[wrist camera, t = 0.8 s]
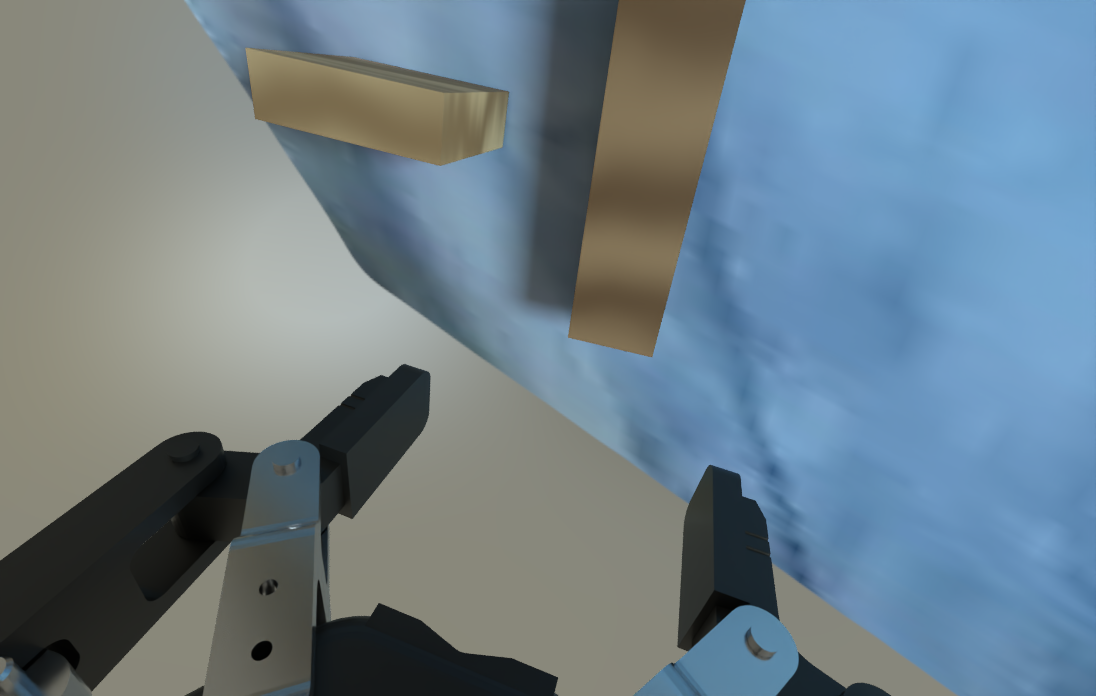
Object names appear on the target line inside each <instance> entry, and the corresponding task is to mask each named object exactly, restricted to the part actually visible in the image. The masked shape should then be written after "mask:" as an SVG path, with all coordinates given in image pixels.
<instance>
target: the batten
mask: <svg viewBox="0 0 1096 696" xmlns="http://www.w3.org/2000/svg"><path fill="white" fill-rule="evenodd" d="M745 1H746V0H619V3H618V9H617V16H616V23H615V29H614V36H613V43H612V49H611V56H610V62H609V69H608V76H607V82H606V89H605V96H604V102H603V109H602V115H601V122H600V129H599V135H598V142H597V149H596V155H595V162H594V168H593V175H592V182H591V188H590V195H589V202H588V208H587V215H586V221H585V228H584V235H583V241H582V248H581V255H580V261H579V268H578V275H577V281H576V288H575V294H574V301H573V308H572V314H571V321H570V328H569V334H568V338H572V339H577V340H581V341H585V342H589V343H594V344H598V345H602V346H606V347H611V348H615V349H619V350H623V351H627V352H632V353H636V354H640V355H644V356H649V357H652V356H653V352H654V348H655V344H656V340H657V337H658V333H659V329H660V325H661V321H662V318H663V314H664V310H665V306H666V302H667V299H668V295H669V291H670V287H671V283H672V279H673V276H674V272H675V268H676V264H677V260H678V257H679V253H680V249H681V245H682V241H683V237H684V234H685V230H686V226H687V222H688V218H689V215H690V211H691V207H692V203H693V199H694V195H695V192H696V188H697V184H698V180H699V176H700V173H701V169H702V165H703V161H704V157H705V154H706V150H707V146H708V142H709V138H710V134H711V131H712V127H713V123H714V119H715V115H716V112H717V108H718V104H719V100H720V96H721V92H722V89H723V85H724V81H725V77H726V73H727V70H728V66H729V62H730V58H731V54H732V50H733V47H734V43H735V39H736V35H737V31H738V28H739V24H740V20H741V16H742V12H743V9H744V5H745Z"/></svg>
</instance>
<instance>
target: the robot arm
mask: <svg viewBox="0 0 1096 696" xmlns="http://www.w3.org/2000/svg"><path fill="white" fill-rule="evenodd" d="M429 401H430V373H429V372H427V371H424V370H421V369H418V368H415V367H412V366H409V365H406V364H403V365H401V366H400V367H399V368H398V369H397V370H396V371H395V372H393V373H392V374H391V375H390V376H389V377H385V376H382V375H380V376H378V377H376V378H374V379H371V380H369V381H367V382H365V383H363V384H362V385H361V386H360V387H359V388H358V389H356V390H355V391H354V392H353V393H352V394H351V396H349V397H347V398H346V399H345V400H344V401H343V402H342V403H341V405H340V406H337V407H336V408H335V409H334V410H333V411H332V412H331V413H330V414H328V415H327V416H326V417H325V418H324V419H323V420H322V421H321V422H320V423H318V424H317V425H316V426H315V427H314V428H313V429H312V430H311V431H310V432H309V433H307V434H306V435H305V436H304V437H303V438H302V439H300V440H288V441H283V442H279V443H276V444H274V445H271V446H269V447H268V448H266V449H265V450H263V451H262V452H261V453H250V452H235V451H224V450H223V447H222V443H221V441H220V439H219V438H218V437H217V436H215V435H213V434H211V433H207V432H189V433H184V434H180V435H177V436H174V437H171V438H169V439H167V440H165V441H163V442H162V443H160V444H159V445H158V446H156V447H155V448H153V449H152V450H151V451H149V452H148V453H146V454H145V455H144V456H142V457H141V458H140V459H138V460H137V461H136V462H134V463H133V464H131V465H130V466H129V467H127V468H126V469H125V470H123V471H122V472H120V473H119V474H118V475H116V476H115V477H114V478H112V479H111V480H110V481H108V482H107V483H105V484H104V485H103V486H101V487H100V488H99V489H97V490H96V491H95V492H93V493H92V494H90V495H89V496H88V497H86V498H85V499H84V500H82V501H81V502H80V503H78V504H77V505H76V506H74V507H73V508H71V509H70V510H69V511H68V512H66V513H65V514H63V515H62V516H61V517H59V518H58V519H56V520H55V521H54V522H52V523H51V524H50V525H48V526H47V527H45V528H44V529H43V530H41V531H40V532H39V533H37V534H36V535H35V536H33V537H32V538H30V539H29V540H28V541H26V542H25V543H24V544H22V545H21V546H20V547H18V548H17V549H15V550H14V551H13V552H12V553H10V554H9V555H7V556H6V557H5V558H3V559H2V560H0V696H92V694H91V692H92V691H93V689H94V688H95V687H96V686H97V685H98V684H99V683H100V682H101V681H102V680H103V679H104V678H105V676H106V675H107V674H108V673H109V672H110V671H111V670H112V669H113V668H114V667H115V666H116V665H117V664H118V663H119V662H120V661H121V659H122V658H123V657H124V656H125V655H126V654H127V653H128V652H129V651H130V650H131V649H132V648H133V647H134V646H135V644H136V643H137V642H138V641H139V640H140V639H141V638H142V637H143V636H144V635H145V634H146V633H147V632H148V630H149V629H150V628H151V627H152V626H153V625H154V624H155V623H156V622H157V621H158V620H159V618H161V617H162V615H163V614H164V613H165V612H166V611H167V610H168V609H169V608H170V607H171V606H172V605H173V604H174V603H175V601H176V600H177V599H178V598H179V597H180V596H181V595H182V594H183V593H184V592H185V591H186V590H187V589H188V587H189V586H190V585H191V584H192V583H193V582H194V581H195V580H196V579H197V578H198V577H199V576H200V575H201V573H202V572H203V571H204V570H205V569H206V568H207V567H208V566H209V565H210V564H211V563H212V562H213V561H214V560H215V558H216V557H217V556H218V555H219V554H220V553H221V552H222V551H223V550H224V549H225V548H226V547H227V546H228V545H229V544H230V542H231V545H230V549H229V554H228V559H227V565H226V571H225V576H224V581H223V587H222V592H221V598H220V603H219V609H218V614H217V620H216V625H215V631H214V636H213V642H212V647H211V653H210V659H209V664H208V669H207V674H206V680H205V685H204V686H202V687H200V688H198V689H197V690H195V691H193V692H191V693H189V694H187V695H185V696H558V695H557V694H555V693H554V692H555V688H556V684H557V680H558V677H556V676H553V675H551V674H548V673H546V672H544V671H541V670H539V669H536V668H534V667H532V666H529V665H527V664H524V663H522V662H519V661H517V660H515V659H512V658H504V657H495V656H486V655H477V654H468V653H462V652H459V651H458V650H456V649H455V648H454V647H452V646H451V645H450V644H449V643H448V642H446V641H445V640H444V639H443V638H442V637H440V636H439V635H438V634H437V633H435V632H434V631H433V630H432V629H431V628H429V627H428V626H427V625H426V624H424V623H423V622H422V621H421V620H418V619H416V618H414V617H411V616H409V615H407V614H404V613H402V612H399V611H397V610H395V609H392V608H390V607H387V606H385V605H382V604H380V603H379V604H378V605H377V607H376V608H375V610H374V612H373V613H372V615H371V616H352V617H346V618H340V619H336V620H333V621H331V611H330V595H329V523H330V522H331V521H332V520H333V518H335V516H336V515H337V514H338V513H339V514H341V515H344V516H346V517H349V518H351V519H353V518H354V516H355V515H356V514H357V513H358V511H359V510H360V508H362V506H363V505H364V504H365V502H366V501H367V500H368V499H369V497H370V496H371V495H372V494H373V492H374V491H375V490H376V489H377V487H378V486H379V485H380V484H381V482H382V481H383V480H384V479H385V477H386V476H387V475H388V474H389V472H390V471H391V470H392V469H393V467H394V466H395V465H396V464H397V462H398V461H399V460H400V459H401V457H402V456H403V455H404V454H405V452H406V451H407V450H408V449H409V447H410V446H411V445H412V444H413V442H414V441H415V440H416V438H417V437H418V436H419V435H420V434H421V432H422V431H423V429H424V427H425V425H426V422H427V419H428V416H429ZM170 519H171V520H170ZM161 527H162V528H161ZM160 528H161V529H160ZM151 536H152V537H151ZM678 647H679V648H681V649H684V650H686V651H688V652H687V653H686V654H685V655H684V656H683V657H682V658H681V659H679V660H678V661H677V662H676V663H674V664H673V663H670V664H668V665H667V666H666V667H664V668H663V669H662V670H661V671H660V672H659V673H658V674H656V675H655V676H654V677H653V678H652V679H651V680H650V681H649V682H648V683H646V684H645V686H643V687H642V688H641V689H640V690H639V691H638V692H637V693H635V694H634V695H633V696H891V695H889V694H888V693H886V692H885V691H883V690H882V689H880V688H878V687H876V686H873V685H870V684H867V683H855V684H852V685H851V686H849V687H848V688H847V689H846V688H845V687H843V686H842V685H841V684H839V683H838V682H836V681H835V680H833V679H832V678H830V677H829V676H828V675H826V674H825V673H823V672H822V671H821V670H819V669H818V668H816V667H815V666H813V665H812V664H811V663H809V662H808V661H807V660H806V659H805V658H804V657H803V656H802V655H801V654H800V653H799V652H798V651H797V647H796V644H795V642H794V640H793V638H792V636H791V635H790V633H789V631H788V630H787V629H786V627H785V626H784V625H783V624H782V623H781V622H780V620H779V615H778V608H777V600H776V593H775V585H774V578H773V570H772V562H771V558H770V547H769V542H768V531H767V524H766V519H765V517H764V515H763V513H762V512H761V510H760V508H759V506H758V504H757V503H756V501H755V500H752V499H749V498H746V497H743V496H742V488H741V478H740V475H739V474H737V473H734V472H731V471H728V470H725V469H722V468H719V467H716V466H713V465H709V466H708V467H707V469H706V471H705V473H704V475H703V477H702V479H701V481H700V483H699V485H698V487H697V489H696V491H695V493H694V495H693V497H692V499H691V501H690V503H689V505H688V508H687V511H686V516H685V521H684V532H683V551H682V571H681V589H680V608H679V628H678Z"/></svg>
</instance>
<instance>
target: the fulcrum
mask: <svg viewBox="0 0 1096 696" xmlns="http://www.w3.org/2000/svg"><path fill="white" fill-rule="evenodd" d="M246 54H247V62H248V69H249V76H250V84H251V91H252V98H253V106H254V113H255V119H258V120H262V121H266V122H270V123H274V124H277V125H281V126H285V127H289V128H293V129H297V130H301V131H305V132H309V133H313V134H317V135H321V136H325V137H329V138H333V139H337V140H340V141H344V142H348V143H352V144H356V145H360V146H364V147H368V148H372V149H376V150H380V151H384V152H388V153H392V154H396V155H399V156H403V157H407V158H411V159H415V160H419V161H423V162H427V163H431V164H435V165H439V166H441V165H445V164H448V163H452V162H455V161H458V160H462V159H465V158H468V157H472V156H475V155H479V154H482V153H485V152H489V151H492V150H495V149H499V148H502V147H503V138H504V130H505V121H506V113H507V104H508V96H509V92H508V91H503V90H499V89H494V88H490V87H485V86H481V85H476V84H472V83H467V82H463V81H458V80H454V79H449V78H445V77H440V76H436V75H431V74H427V73H422V72H418V71H414V70H409V69H405V68H400V67H396V66H391V65H387V64H382V63H378V62H373V61H369V60H364V59H360V58H355V57H345V56H334V55H323V54H311V53H300V52H289V51H277V50H266V49H255V48H246Z"/></svg>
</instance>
